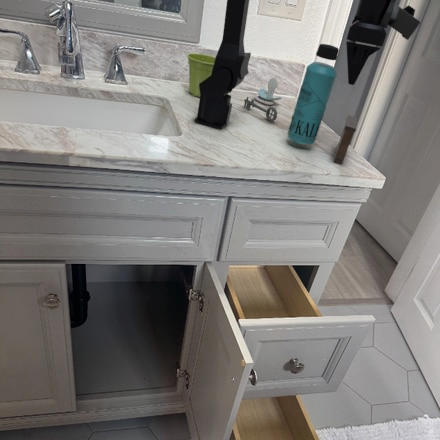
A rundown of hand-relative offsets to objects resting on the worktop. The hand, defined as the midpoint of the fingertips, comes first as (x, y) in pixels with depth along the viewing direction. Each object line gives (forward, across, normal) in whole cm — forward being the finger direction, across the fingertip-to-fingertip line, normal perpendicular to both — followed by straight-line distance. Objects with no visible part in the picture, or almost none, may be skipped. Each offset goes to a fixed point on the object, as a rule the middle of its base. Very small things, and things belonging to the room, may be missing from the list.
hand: (352, 79), depth 83 cm
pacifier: (+15, +29, +20) cm, 38 cm away
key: (+15, +15, +20) cm, 29 cm away
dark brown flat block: (+16, +1, -2) cm, 16 cm away
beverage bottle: (+15, +1, +7) cm, 17 cm away
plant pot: (+14, +19, +36) cm, 43 cm away
